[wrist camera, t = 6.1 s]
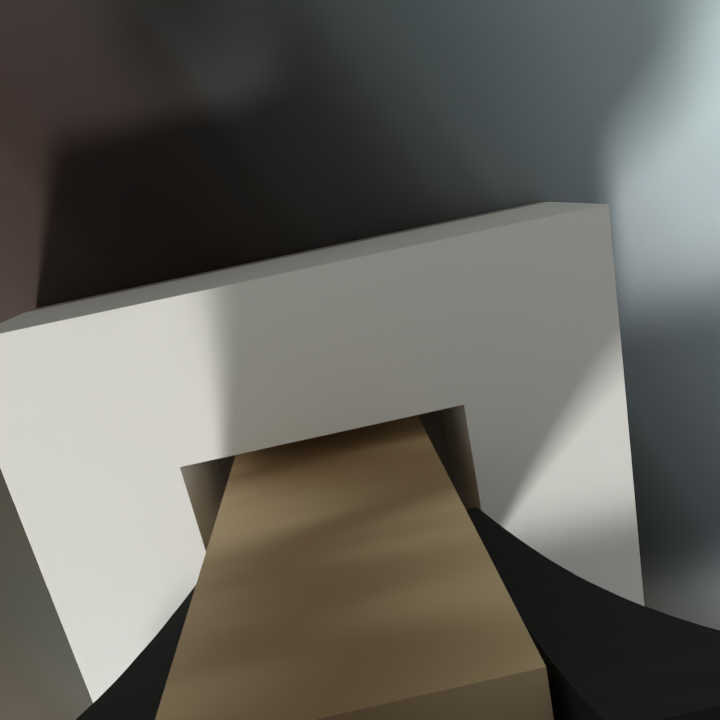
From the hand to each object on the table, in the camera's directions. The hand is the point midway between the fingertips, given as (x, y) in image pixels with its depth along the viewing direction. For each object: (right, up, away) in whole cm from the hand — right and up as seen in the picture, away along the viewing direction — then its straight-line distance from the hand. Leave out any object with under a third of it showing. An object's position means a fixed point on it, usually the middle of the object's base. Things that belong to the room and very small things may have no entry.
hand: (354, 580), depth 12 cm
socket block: (0, +1, +4) cm, 4 cm away
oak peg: (0, +1, +2) cm, 2 cm away
